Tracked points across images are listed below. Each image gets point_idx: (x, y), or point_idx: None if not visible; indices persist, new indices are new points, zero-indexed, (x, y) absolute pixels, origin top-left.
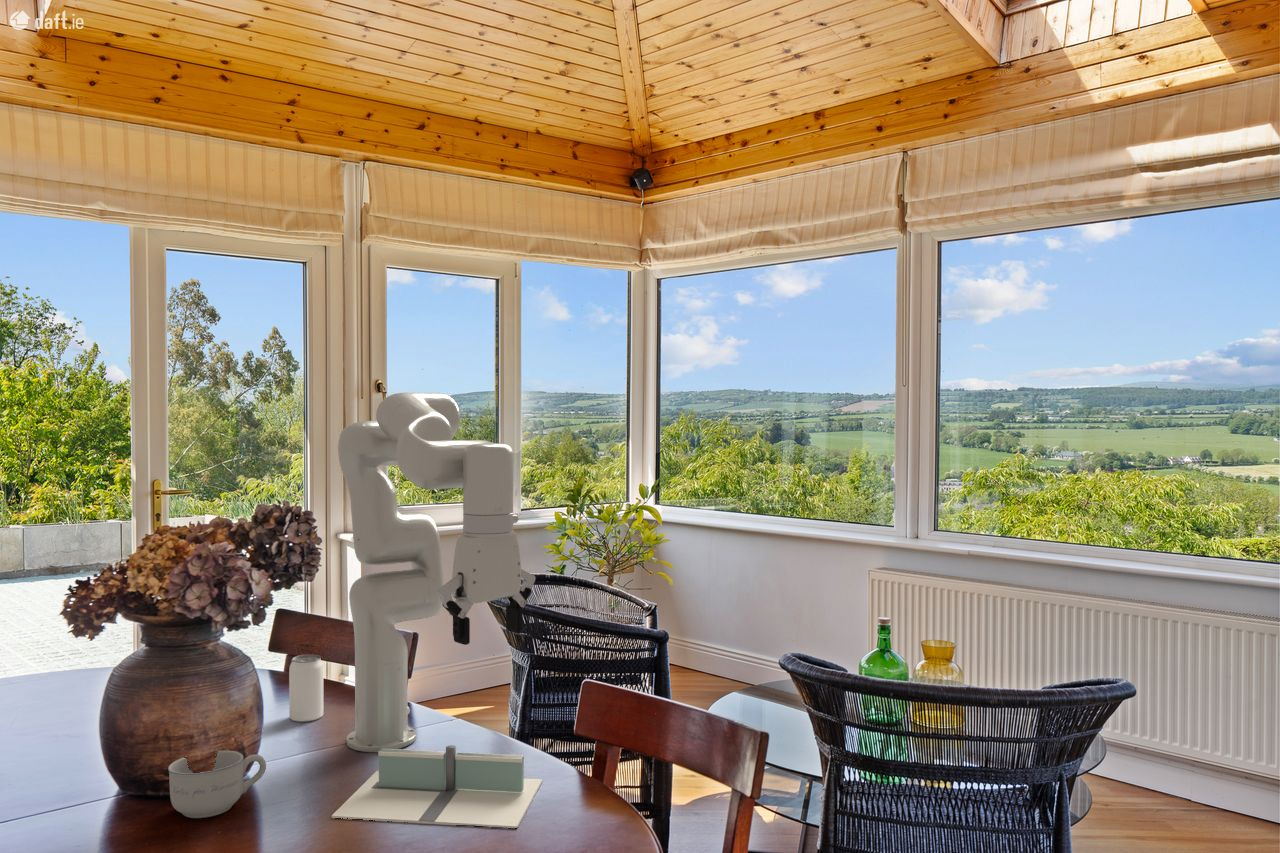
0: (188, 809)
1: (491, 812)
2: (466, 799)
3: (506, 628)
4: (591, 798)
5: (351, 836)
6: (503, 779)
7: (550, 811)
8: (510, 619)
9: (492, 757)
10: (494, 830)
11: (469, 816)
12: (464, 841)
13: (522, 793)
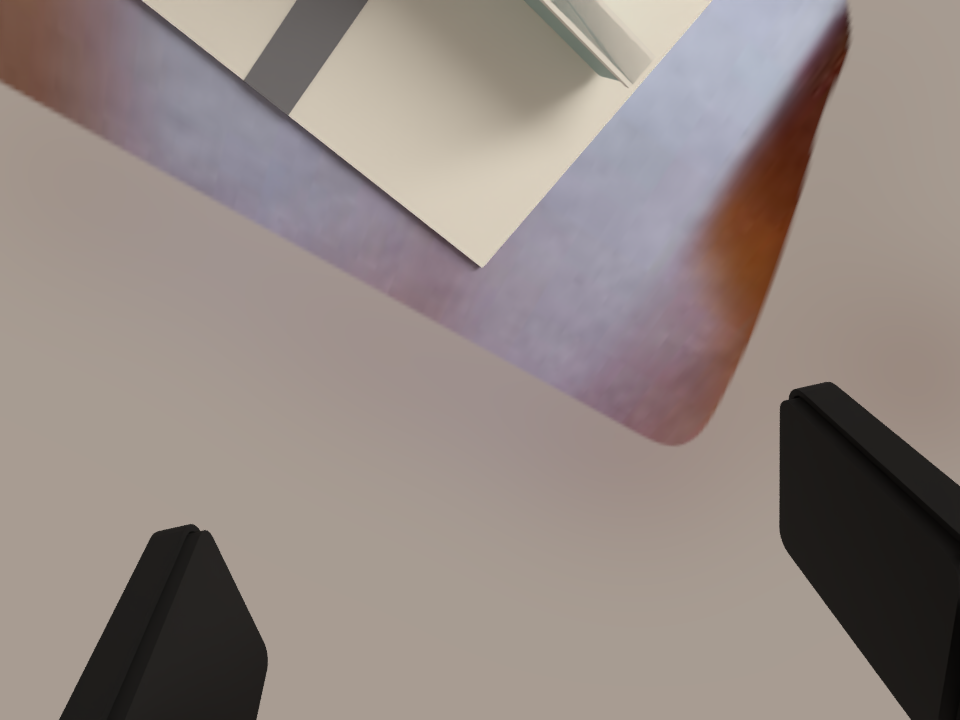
0: None
1: (461, 148)
2: (433, 4)
3: (787, 411)
4: (746, 197)
5: (27, 52)
6: (564, 33)
7: (609, 214)
8: (848, 530)
9: (549, 4)
10: (428, 241)
11: (394, 139)
12: (334, 260)
13: None
